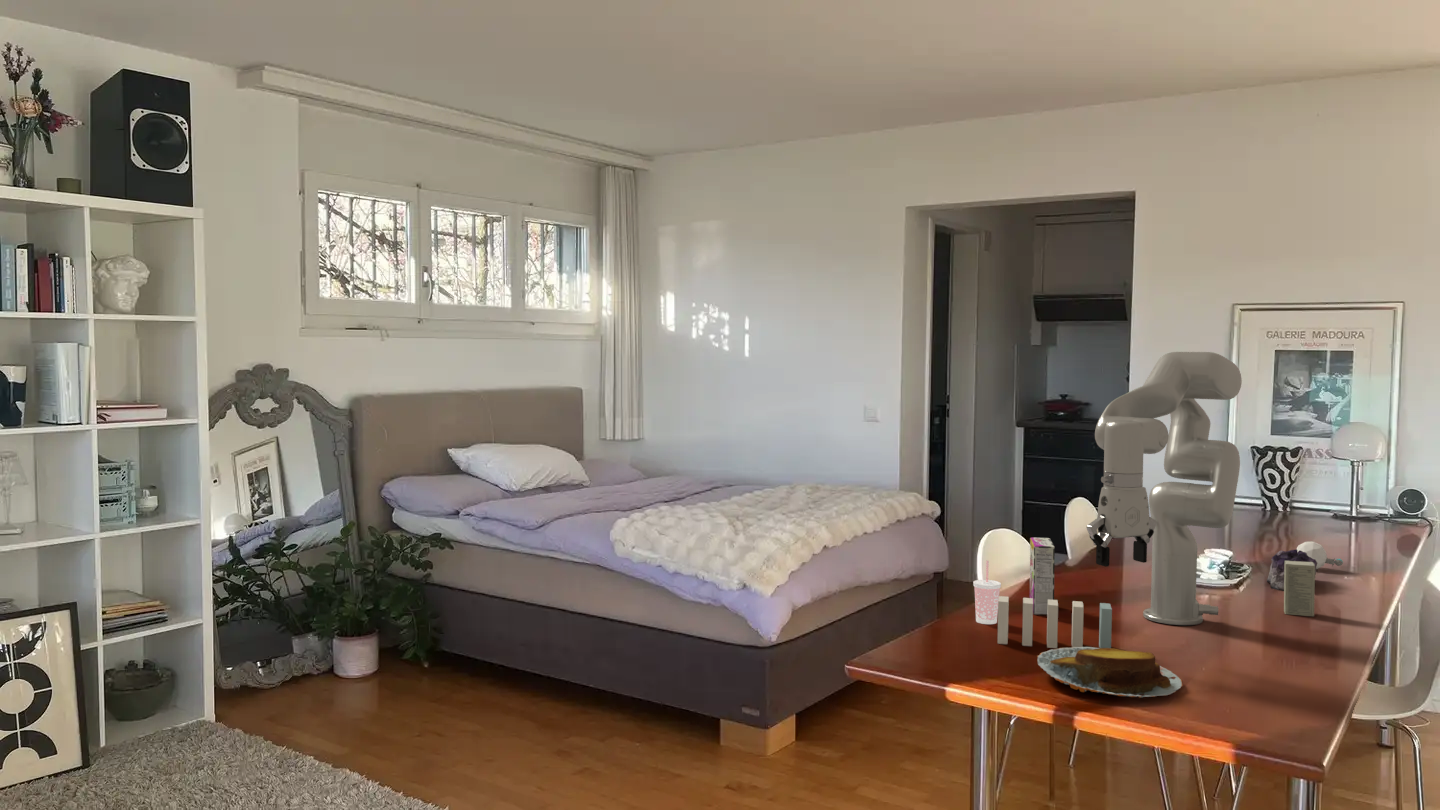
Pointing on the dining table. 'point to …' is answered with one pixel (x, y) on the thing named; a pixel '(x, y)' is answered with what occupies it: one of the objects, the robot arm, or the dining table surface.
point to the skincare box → (1299, 588)
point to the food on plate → (1109, 671)
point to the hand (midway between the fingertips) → (1121, 563)
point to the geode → (1279, 566)
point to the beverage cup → (986, 599)
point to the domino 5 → (1105, 625)
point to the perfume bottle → (1317, 554)
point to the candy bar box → (1041, 573)
